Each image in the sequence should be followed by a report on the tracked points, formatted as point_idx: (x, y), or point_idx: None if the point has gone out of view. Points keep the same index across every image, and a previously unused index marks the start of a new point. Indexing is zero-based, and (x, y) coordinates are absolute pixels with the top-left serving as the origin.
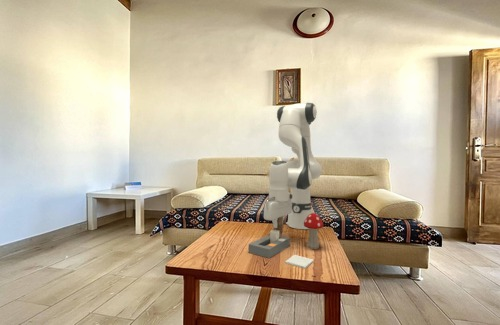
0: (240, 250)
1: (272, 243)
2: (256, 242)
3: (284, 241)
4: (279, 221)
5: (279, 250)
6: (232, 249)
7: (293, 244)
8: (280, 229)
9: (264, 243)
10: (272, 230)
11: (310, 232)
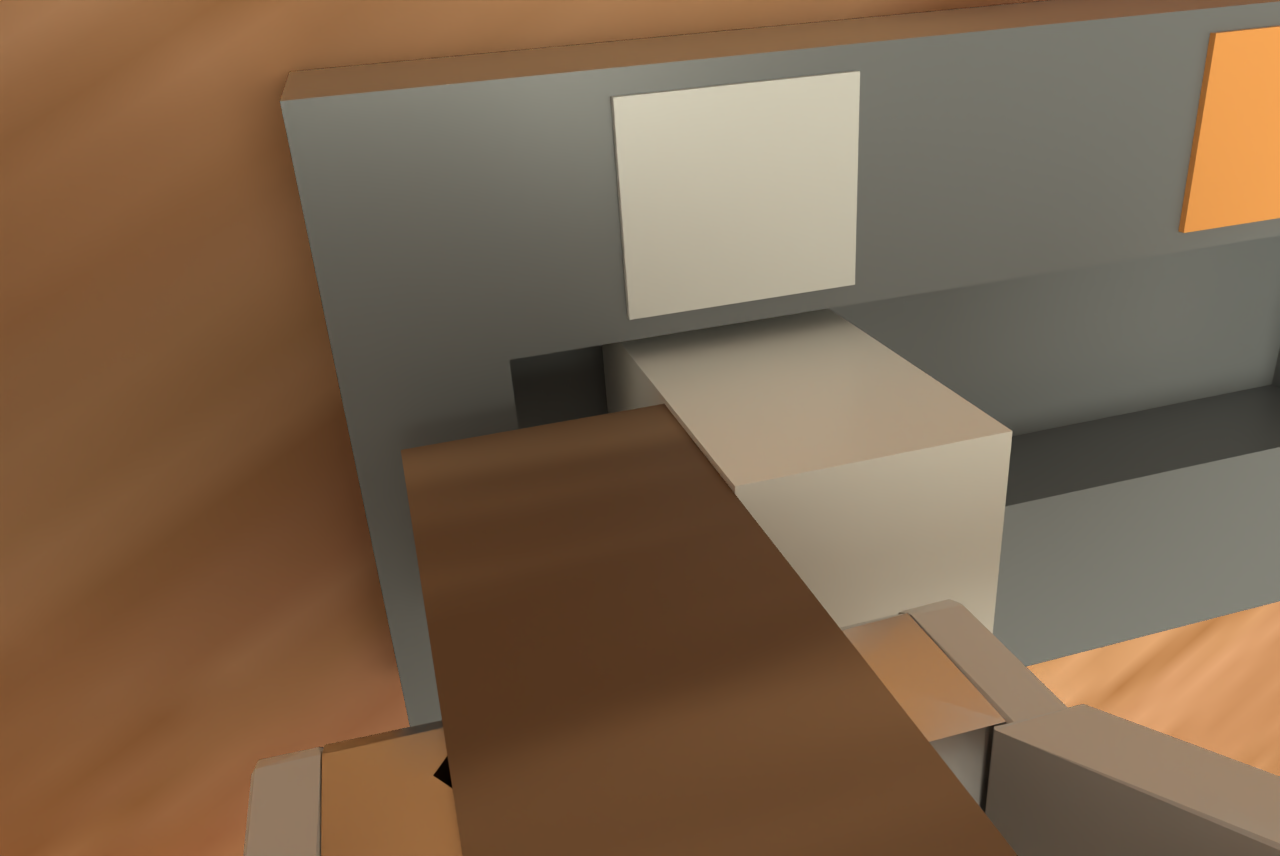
0: (1231, 637)
1: (1192, 192)
2: (1265, 537)
3: (751, 52)
4: (955, 800)
5: (966, 11)
6: (1245, 740)
7: (67, 47)
8: (628, 528)
9: (1052, 459)
10: None
11: None
